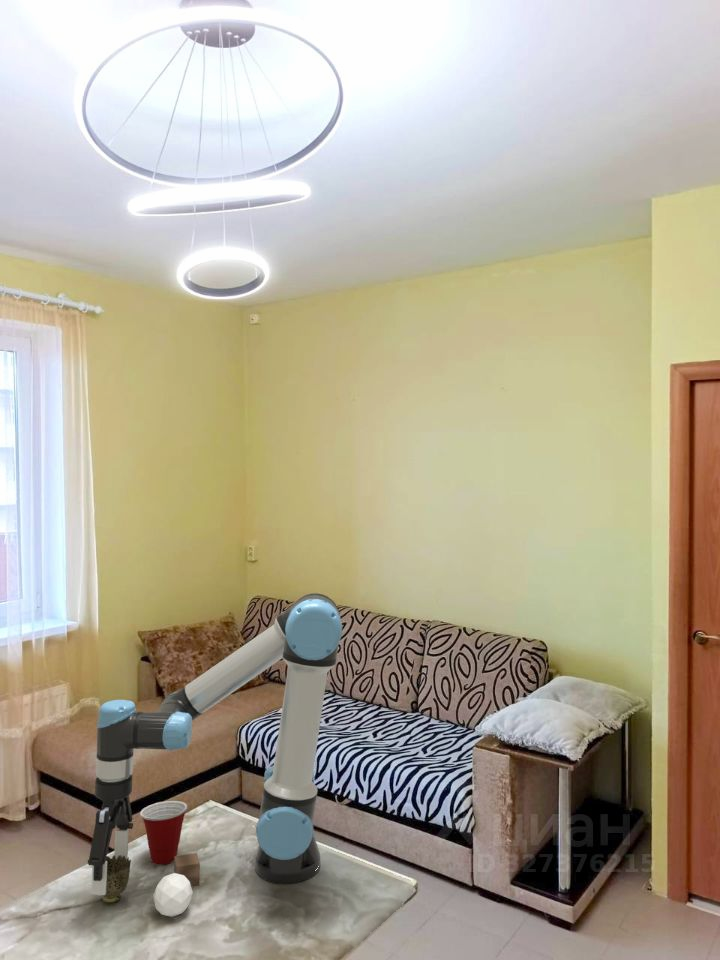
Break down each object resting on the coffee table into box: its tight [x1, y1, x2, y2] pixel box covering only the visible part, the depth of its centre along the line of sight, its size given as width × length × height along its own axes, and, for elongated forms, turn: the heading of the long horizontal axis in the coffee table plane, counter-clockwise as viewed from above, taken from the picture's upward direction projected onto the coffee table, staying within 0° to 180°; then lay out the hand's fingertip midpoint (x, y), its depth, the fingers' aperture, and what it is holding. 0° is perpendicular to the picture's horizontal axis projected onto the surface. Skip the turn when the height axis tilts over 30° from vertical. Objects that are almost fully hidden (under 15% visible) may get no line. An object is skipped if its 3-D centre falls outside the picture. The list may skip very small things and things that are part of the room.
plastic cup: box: [139, 800, 188, 866], centre depth 170 cm, size 11×11×12 cm
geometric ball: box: [152, 872, 194, 918], centre depth 148 cm, size 8×8×8 cm
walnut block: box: [173, 852, 201, 888], centre depth 160 cm, size 5×5×5 cm
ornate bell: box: [100, 855, 132, 906], centre depth 152 cm, size 8×7×8 cm
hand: (110, 876), depth 152 cm, fingers open, 13 cm apart
